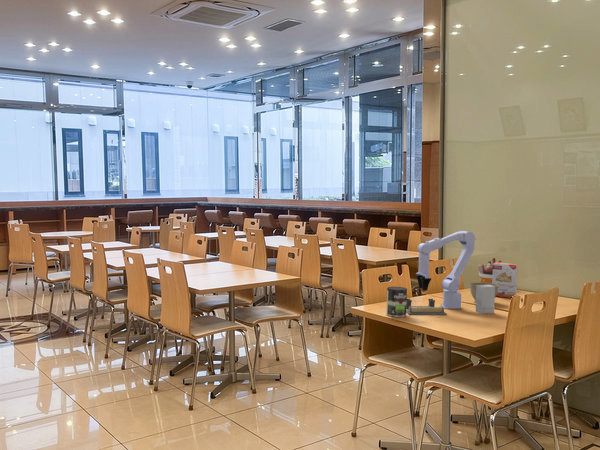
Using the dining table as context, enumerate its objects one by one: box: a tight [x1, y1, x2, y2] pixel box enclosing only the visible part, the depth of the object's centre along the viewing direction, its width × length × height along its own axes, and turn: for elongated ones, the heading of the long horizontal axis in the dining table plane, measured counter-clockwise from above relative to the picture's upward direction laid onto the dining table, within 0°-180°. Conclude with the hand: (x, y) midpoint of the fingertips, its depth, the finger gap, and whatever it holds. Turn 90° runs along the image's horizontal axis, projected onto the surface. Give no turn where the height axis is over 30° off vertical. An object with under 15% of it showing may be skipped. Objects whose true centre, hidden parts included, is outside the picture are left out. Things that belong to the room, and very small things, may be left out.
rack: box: [406, 298, 436, 310], centre depth 312 cm, size 16×4×5 cm, turn 94°
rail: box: [408, 305, 445, 313], centre depth 300 cm, size 18×3×3 cm, turn 94°
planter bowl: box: [469, 282, 499, 303], centre depth 333 cm, size 16×16×11 cm
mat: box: [406, 309, 447, 316], centre depth 300 cm, size 20×7×1 cm, turn 94°
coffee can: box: [385, 286, 408, 318], centre depth 295 cm, size 10×10×14 cm
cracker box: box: [492, 262, 519, 299], centre depth 354 cm, size 14×6×21 cm, turn 59°
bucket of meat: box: [477, 257, 502, 283], centre depth 384 cm, size 20×16×20 cm
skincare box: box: [475, 285, 496, 315], centre depth 305 cm, size 8×6×15 cm
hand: (423, 289), depth 314 cm, fingers open, 7 cm apart
